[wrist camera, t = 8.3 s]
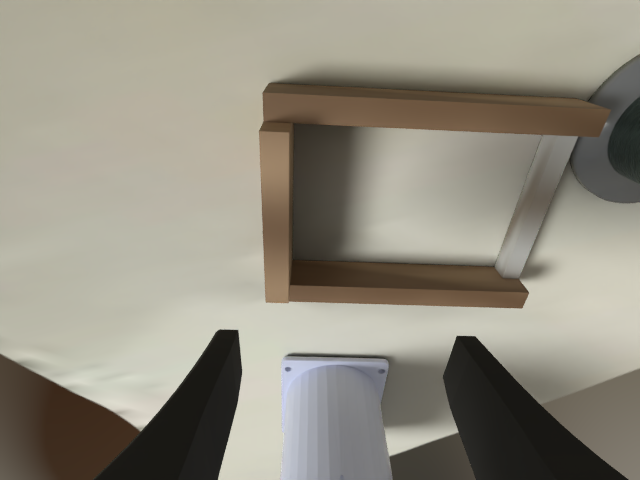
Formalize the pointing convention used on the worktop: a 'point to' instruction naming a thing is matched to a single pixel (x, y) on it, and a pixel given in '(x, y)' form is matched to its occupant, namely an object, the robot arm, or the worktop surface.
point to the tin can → (626, 143)
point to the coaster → (592, 151)
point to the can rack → (412, 113)
